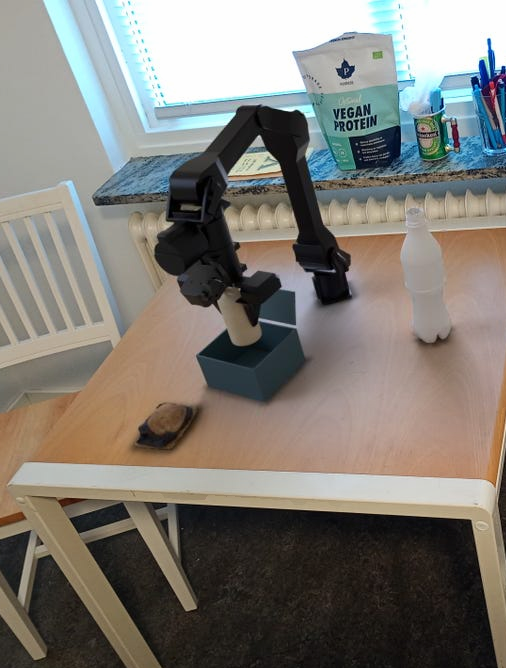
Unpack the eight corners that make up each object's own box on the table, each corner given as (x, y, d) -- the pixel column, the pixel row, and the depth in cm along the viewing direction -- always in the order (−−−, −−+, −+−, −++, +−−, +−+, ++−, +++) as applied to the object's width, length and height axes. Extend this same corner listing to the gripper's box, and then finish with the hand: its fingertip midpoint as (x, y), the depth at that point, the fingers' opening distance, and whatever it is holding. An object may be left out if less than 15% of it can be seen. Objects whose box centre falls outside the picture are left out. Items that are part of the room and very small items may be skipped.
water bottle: (456, 324, 135) (440, 200, 120) (447, 347, 130) (430, 220, 115) (419, 323, 138) (399, 201, 123) (409, 345, 132) (387, 221, 118)
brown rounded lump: (162, 406, 132) (155, 390, 129) (202, 409, 129) (195, 393, 126) (131, 447, 124) (122, 431, 122) (172, 451, 121) (165, 434, 119)
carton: (250, 347, 142) (239, 316, 137) (305, 360, 135) (296, 328, 130) (208, 387, 134) (195, 355, 129) (265, 402, 127) (253, 370, 122)
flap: (238, 314, 137) (239, 313, 137) (294, 325, 130) (296, 324, 130) (236, 282, 135) (237, 281, 135) (293, 291, 128) (295, 291, 128)
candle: (268, 331, 128) (252, 282, 122) (248, 349, 125) (232, 300, 119) (245, 325, 131) (228, 278, 125) (225, 343, 128) (207, 295, 122)
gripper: (139, 261, 117) (172, 339, 126) (225, 276, 107) (254, 360, 116) (186, 228, 124) (214, 305, 133) (271, 240, 114) (294, 321, 123)
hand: (242, 322), depth 126 cm, fingers closed on candle, 5 cm apart
